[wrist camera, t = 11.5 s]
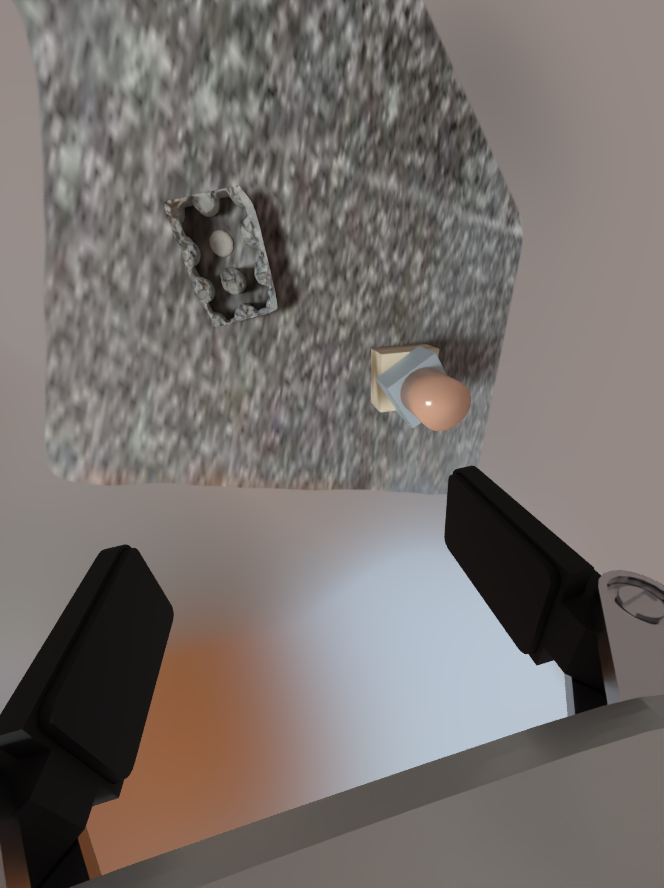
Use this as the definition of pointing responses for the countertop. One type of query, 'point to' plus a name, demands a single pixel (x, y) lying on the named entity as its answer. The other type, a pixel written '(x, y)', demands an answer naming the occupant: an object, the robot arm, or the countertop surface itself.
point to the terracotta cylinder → (435, 398)
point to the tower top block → (400, 371)
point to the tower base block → (384, 361)
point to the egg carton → (222, 251)
